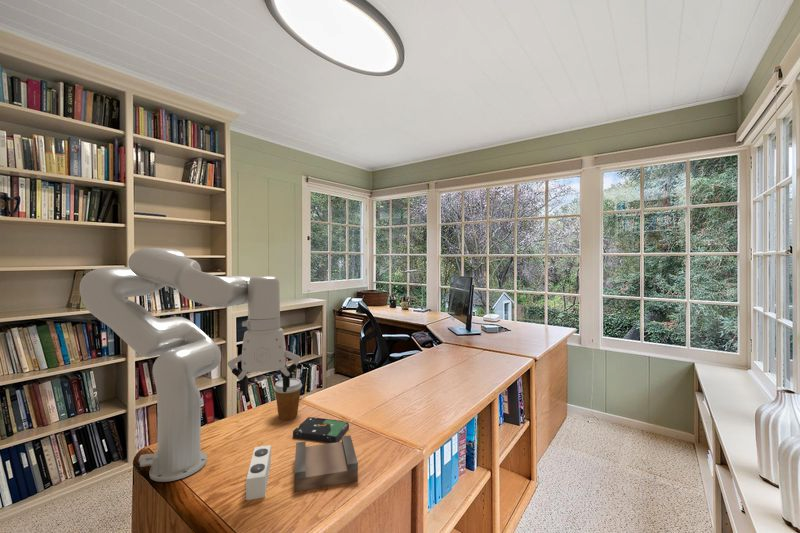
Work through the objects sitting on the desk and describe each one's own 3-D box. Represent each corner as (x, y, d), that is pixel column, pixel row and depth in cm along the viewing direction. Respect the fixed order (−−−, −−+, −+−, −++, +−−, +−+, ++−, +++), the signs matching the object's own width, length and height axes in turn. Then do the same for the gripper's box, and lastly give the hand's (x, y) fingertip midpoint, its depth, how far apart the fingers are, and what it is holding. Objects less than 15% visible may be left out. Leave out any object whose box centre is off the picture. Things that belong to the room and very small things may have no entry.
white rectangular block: (246, 501, 75) (246, 478, 75) (254, 465, 89) (254, 445, 89) (264, 498, 76) (265, 475, 76) (270, 463, 90) (270, 443, 90)
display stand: (294, 491, 78) (294, 472, 78) (296, 458, 92) (296, 442, 92) (357, 481, 82) (357, 462, 82) (350, 450, 96) (350, 435, 96)
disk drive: (292, 440, 103) (337, 445, 100) (292, 431, 103) (337, 436, 100) (308, 424, 113) (349, 428, 110) (308, 416, 113) (349, 420, 110)
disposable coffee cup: (277, 411, 122) (277, 378, 122) (304, 410, 123) (304, 377, 123) (270, 423, 112) (270, 387, 112) (299, 422, 113) (299, 386, 113)
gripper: (222, 329, 79) (223, 401, 79) (298, 325, 82) (299, 394, 82) (232, 324, 86) (233, 389, 86) (301, 320, 90) (302, 384, 90)
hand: (265, 392), depth 84 cm, fingers open, 9 cm apart
